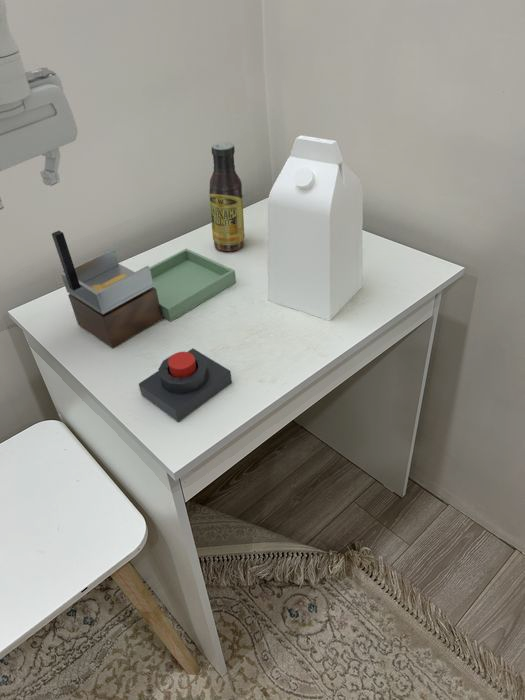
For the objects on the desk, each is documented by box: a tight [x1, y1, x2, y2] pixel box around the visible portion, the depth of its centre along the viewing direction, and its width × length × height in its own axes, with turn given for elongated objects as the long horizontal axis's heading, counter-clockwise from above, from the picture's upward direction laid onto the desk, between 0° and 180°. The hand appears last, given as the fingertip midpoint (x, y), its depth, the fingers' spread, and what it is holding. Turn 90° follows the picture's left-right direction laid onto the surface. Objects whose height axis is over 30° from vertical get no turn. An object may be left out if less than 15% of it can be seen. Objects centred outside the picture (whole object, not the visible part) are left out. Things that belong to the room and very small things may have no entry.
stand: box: [67, 287, 163, 349], centre depth 88 cm, size 10×10×6 cm
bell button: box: [168, 351, 196, 378], centre depth 74 cm, size 4×4×2 cm
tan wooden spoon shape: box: [91, 274, 127, 292], centre depth 85 cm, size 7×3×1 cm, turn 137°
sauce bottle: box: [208, 141, 245, 252], centre depth 102 cm, size 7×6×20 cm
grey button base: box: [138, 348, 233, 423], centre depth 75 cm, size 10×8×4 cm
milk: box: [267, 135, 364, 322], centre depth 85 cm, size 12×12×26 cm
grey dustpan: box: [51, 230, 155, 315], centre depth 82 cm, size 11×10×12 cm
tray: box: [149, 248, 237, 322], centre depth 97 cm, size 15×13×2 cm
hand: (25, 196), depth 72 cm, fingers open, 8 cm apart
